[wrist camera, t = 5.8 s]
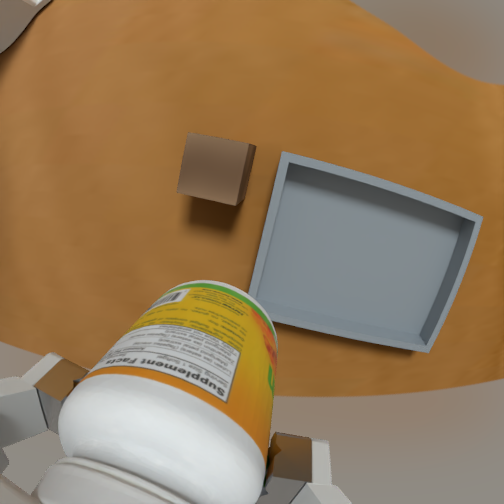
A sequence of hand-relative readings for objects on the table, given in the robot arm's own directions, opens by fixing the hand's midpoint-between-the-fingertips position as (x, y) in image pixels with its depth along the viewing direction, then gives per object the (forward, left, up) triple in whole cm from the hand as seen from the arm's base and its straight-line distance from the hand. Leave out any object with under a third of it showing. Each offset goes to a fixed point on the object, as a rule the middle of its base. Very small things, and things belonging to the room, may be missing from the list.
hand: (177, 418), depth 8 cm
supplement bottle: (0, 0, -5) cm, 5 cm away
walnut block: (-6, -4, -18) cm, 19 cm away
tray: (-2, +8, -18) cm, 20 cm away
